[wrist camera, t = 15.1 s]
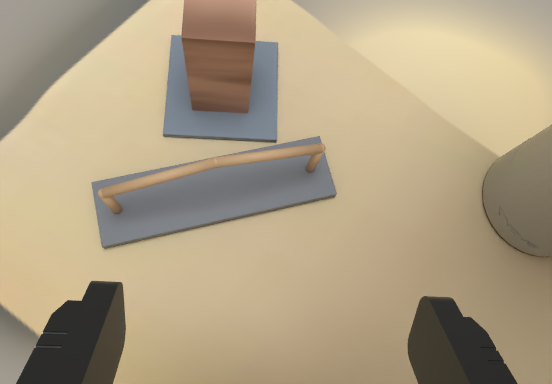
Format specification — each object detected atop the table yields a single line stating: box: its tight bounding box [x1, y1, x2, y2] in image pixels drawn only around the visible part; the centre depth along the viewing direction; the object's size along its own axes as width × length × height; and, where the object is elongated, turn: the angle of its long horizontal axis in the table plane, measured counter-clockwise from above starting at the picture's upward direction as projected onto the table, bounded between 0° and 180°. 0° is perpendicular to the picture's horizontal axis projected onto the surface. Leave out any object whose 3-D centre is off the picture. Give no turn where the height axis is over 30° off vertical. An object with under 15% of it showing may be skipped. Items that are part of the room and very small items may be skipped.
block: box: [181, 0, 256, 113], centre depth 35 cm, size 4×4×10 cm
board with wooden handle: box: [92, 136, 337, 249], centre depth 35 cm, size 5×18×7 cm, turn 104°
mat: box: [163, 35, 278, 142], centre depth 40 cm, size 9×9×1 cm
